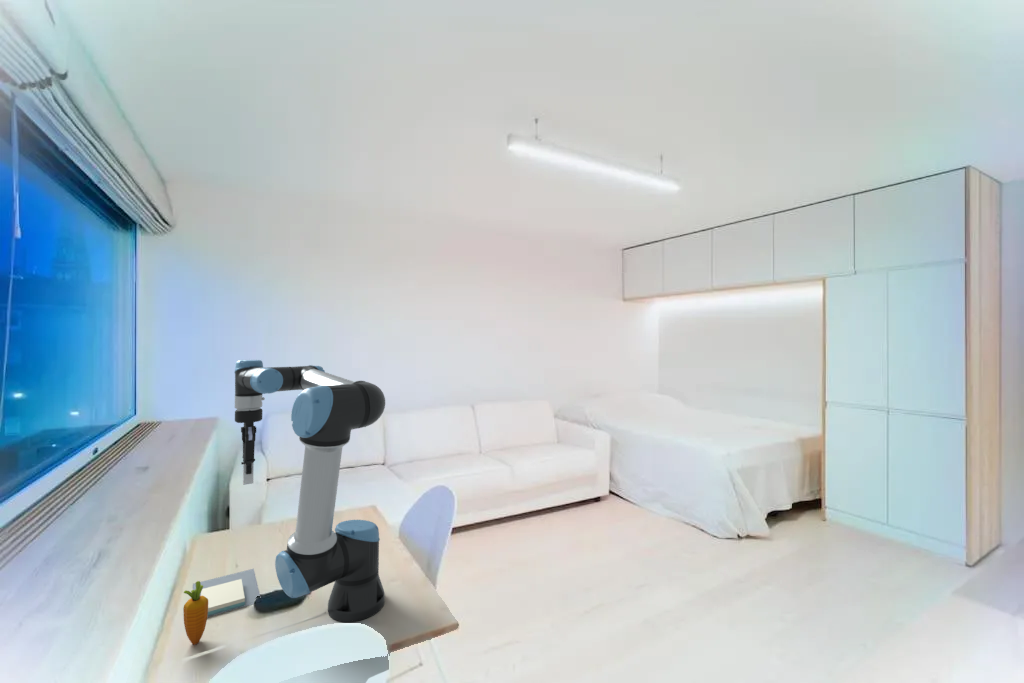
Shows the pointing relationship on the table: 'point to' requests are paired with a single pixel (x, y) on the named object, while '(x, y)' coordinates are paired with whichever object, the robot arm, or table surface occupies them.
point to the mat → (247, 582)
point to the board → (224, 596)
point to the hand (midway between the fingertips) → (248, 483)
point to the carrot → (195, 614)
